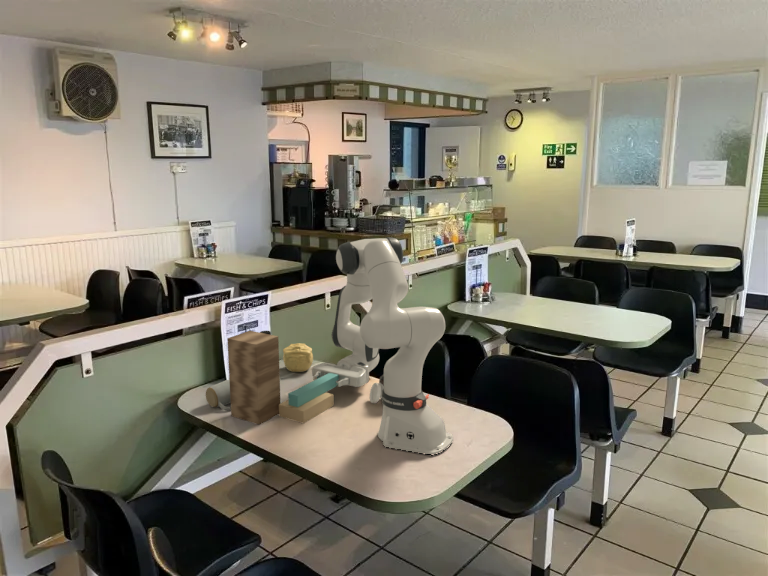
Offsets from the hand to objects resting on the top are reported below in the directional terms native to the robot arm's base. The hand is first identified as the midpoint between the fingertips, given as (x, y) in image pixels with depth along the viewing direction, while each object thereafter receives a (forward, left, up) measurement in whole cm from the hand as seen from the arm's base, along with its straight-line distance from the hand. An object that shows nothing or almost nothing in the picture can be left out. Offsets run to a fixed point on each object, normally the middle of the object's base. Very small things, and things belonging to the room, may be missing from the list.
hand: (325, 381), depth 199 cm
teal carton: (0, +6, -2) cm, 7 cm away
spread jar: (-19, -9, -7) cm, 22 cm away
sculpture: (+27, -18, -7) cm, 33 cm away
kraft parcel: (0, +11, -7) cm, 13 cm away
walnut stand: (+12, +22, -7) cm, 26 cm away
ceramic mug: (+26, +22, -7) cm, 35 cm away
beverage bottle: (+27, 0, -7) cm, 28 cm away
